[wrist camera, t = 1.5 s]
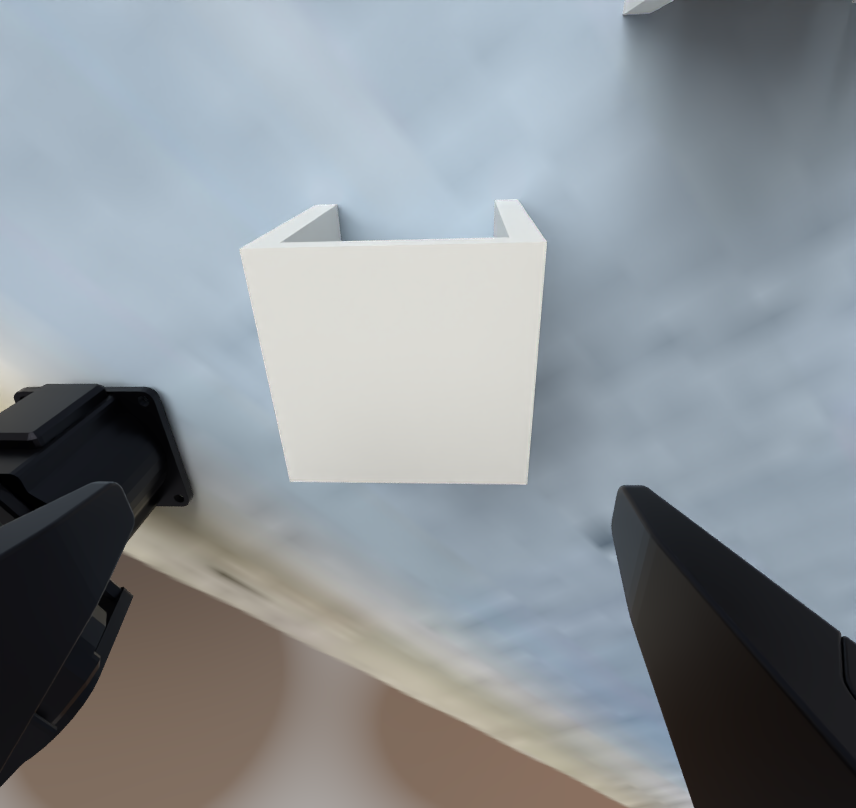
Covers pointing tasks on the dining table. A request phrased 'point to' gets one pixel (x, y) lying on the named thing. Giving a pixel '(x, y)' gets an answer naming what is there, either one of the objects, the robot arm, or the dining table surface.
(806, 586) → the dining table surface
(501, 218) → the cover
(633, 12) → the cover
